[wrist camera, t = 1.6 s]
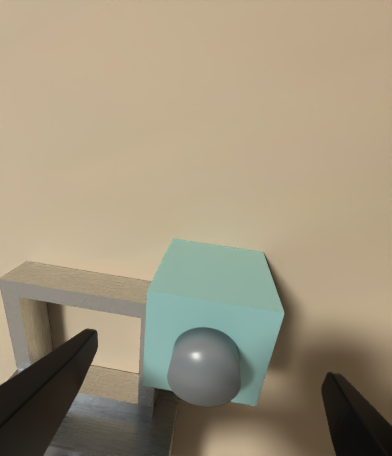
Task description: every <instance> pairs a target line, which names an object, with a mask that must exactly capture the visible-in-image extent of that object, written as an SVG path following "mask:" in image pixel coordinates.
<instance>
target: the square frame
mask: <svg viewBox="0 0 392 456" xmlns="http://www.w3.org/2000/svg"><path fill="white" fill-rule="evenodd" d="M150 284H151V281H145V280H139V279H132V278H126V277H120V276H114V275H108V274H102V273H95V272H89V271H83V270H77V269H71V268H65V267H58V266H52V265H46V264H40V263H34V262H28V261H26V262H24V263H23V264H21V265H20V266H18V267H16V268H15V269H13V270H12V271H10V272H8V273H7V274H5V275H4V276H2V277H1V278H0V289H1V294H2V299H3V303H4V308H5V313H6V318H7V322H8V327H9V332H10V337H11V341H12V346H13V351H14V356H15V360H16V365H17V370H16V372H15V373H14V374H13V375H12V376H11V377H10V378H12V377H14V376H15V375H17V374H18V373H20V372H21V371H23V370H24V369H26V368H27V367H29V366H30V365H32V364H33V363H35V362H36V361H38V360H39V359H41V358H42V357H44V356H45V355H47V354H48V353H50V352H51V351H53V347H52V339H51V332H50V324H49V317H48V309H47V302H51V303H56V304H62V305H68V306H74V307H80V308H86V309H91V310H97V311H103V312H109V313H115V314H121V315H126V316H132V317H138V318H141V337H140V360H139V374H135V373H130V372H124V371H119V370H114V369H108V368H103V367H97V366H92V365H90V368H89V370H88V372H87V374H86V377H85V379H84V381H83V384H82V386H81V388H80V390H79V392H78V394H77V396H76V398H75V400H74V402H73V403H72V405H71V407H70V409H69V411H68V412H67V414H66V416H65V418H64V420H63V421H62V423H61V425H60V427H59V429H58V430H57V432H56V434H55V436H54V438H53V439H52V441H51V443H50V445H49V447H48V448H47V450H46V452H45V454H44V456H171V452H172V444H173V437H174V430H175V422H176V415H177V407H178V400H179V397H178V396H177V395H176V394H175V393H174V392H173V391H170V390H165V389H159V388H154V387H148V386H143V385H142V381H143V361H144V342H145V322H146V302H147V290H148V288H149V286H150ZM10 378H9V379H10Z"/></svg>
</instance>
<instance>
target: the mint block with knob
mask: <svg viewBox="0 0 392 456" xmlns="http://www.w3.org/2000/svg"><path fill="white" fill-rule="evenodd" d="M284 314H285V313H284V310H283V307H282V304H281V301H280V299H279V296H278V293H277V290H276V287H275V284H274V281H273V279H272V276H271V273H270V270H269V267H268V264H267V261H266V258H265V256H264V253H263V252H260V251H253V250H246V249H240V248H233V247H226V246H220V245H213V244H206V243H200V242H193V241H186V240H179V239H173V240H172V242H171V244H170V246H169V248H168V250H167V252H166V254H165V256H164V258H163V260H162V262H161V264H160V266H159V268H158V270H157V272H156V274H155V276H154V278H153V280H152V282H151V284H150V286H149V288H148V290H147V302H146V322H145V342H144V361H143V381H142V385H143V386H148V387H154V388H159V389H165V390H170V391H173V392H174V393H175V394H176V395H177V396H178V397H179V398H181V399H182V400H184V401H186V402H188V403H190V404H193V405H197V406H203V407H215V406H220V405H223V404H226V403H228V402H235V403H240V404H245V405H251V406H256V405H257V401H258V398H259V395H260V392H261V388H262V385H263V382H264V379H265V375H266V372H267V369H268V366H269V362H270V359H271V356H272V353H273V349H274V346H275V343H276V340H277V336H278V333H279V330H280V327H281V323H282V320H283V317H284Z"/></svg>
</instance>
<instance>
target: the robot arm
mask: <svg viewBox="0 0 392 456" xmlns="http://www.w3.org/2000/svg"><path fill="white" fill-rule="evenodd" d="M97 348H98V335H97V331H96V330H94V329H85V330H83V331H82V332H80V333H79V334H77V335H76V336H74V337H73V338H71V339H70V340H68V341H67V342H65V343H64V344H62V345H61V346H59V347H57V348H56V349H54V350H53V351H51V352H50V353H48V354H47V355H45V356H44V357H42V358H41V359H39V360H38V361H36V362H35V363H33V364H32V365H30V366H29V367H27V368H26V369H24V370H23V371H21V372H20V373H18V374H17V375H15V376H14V377H12V378H10V379H9V380H7V381H6V382H4V383H3V384H1V385H0V456H44V454H45V452H46V450H47V448H48V447H49V445H50V443H51V441H52V439H53V438H54V436H55V434H56V432H57V430H58V429H59V427H60V425H61V423H62V421H63V420H64V418H65V416H66V414H67V412H68V411H69V409H70V407H71V405H72V403H73V402H74V400H75V398H76V396H77V394H78V392H79V390H80V388H81V386H82V384H83V381H84V379H85V377H86V374H87V372H88V370H89V368H90V365H91V363H92V361H93V358H94V356H95V354H96V352H97ZM321 392H322V398H323V402H324V407H325V412H326V416H327V421H328V426H329V430H330V435H331V439H332V443H333V446H334V450H335V453H336V456H392V426H391V425H390V424H389V423H388V422H387V421H386V420H385V418H384V417H383V416H382V415H381V414H380V413H379V412H378V411H377V410H376V409H375V408H374V407H373V406H372V405H371V404H370V403H369V402H368V401H367V400H366V399H365V398H364V397H363V396H362V395H361V394H360V393H359V392H358V391H357V390H356V389H355V388H354V387H353V386H352V385H351V384H350V383H349V382H348V381H347V379H346V378H345V377H344V376H343V375H341V374H340V373H335V372H328V373H327V375H326V378H325V380H324V382H323V384H322V388H321Z"/></svg>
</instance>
